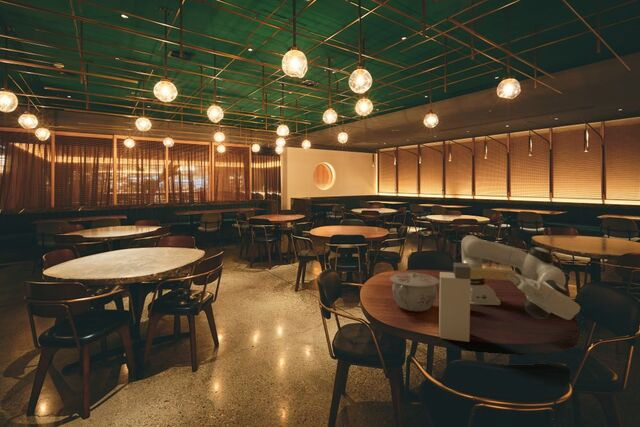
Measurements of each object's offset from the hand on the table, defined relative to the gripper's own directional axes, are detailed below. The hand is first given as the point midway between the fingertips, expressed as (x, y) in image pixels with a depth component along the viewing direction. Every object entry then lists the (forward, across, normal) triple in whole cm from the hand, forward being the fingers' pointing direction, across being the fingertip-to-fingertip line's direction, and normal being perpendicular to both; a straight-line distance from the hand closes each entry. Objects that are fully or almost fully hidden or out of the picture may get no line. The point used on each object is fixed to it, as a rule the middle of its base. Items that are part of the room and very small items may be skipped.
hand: (504, 273), depth 133 cm
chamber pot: (+18, +31, -46) cm, 58 cm away
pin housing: (+2, 0, -36) cm, 36 cm away
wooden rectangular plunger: (+5, 0, -5) cm, 7 cm away
